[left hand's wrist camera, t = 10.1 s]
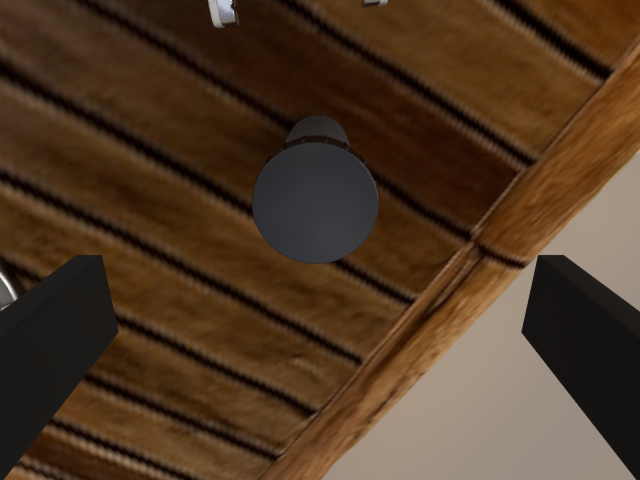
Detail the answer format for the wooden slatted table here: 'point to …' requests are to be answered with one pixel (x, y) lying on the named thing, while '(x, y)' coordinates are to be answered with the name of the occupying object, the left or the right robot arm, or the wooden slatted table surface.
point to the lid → (315, 200)
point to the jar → (318, 128)
